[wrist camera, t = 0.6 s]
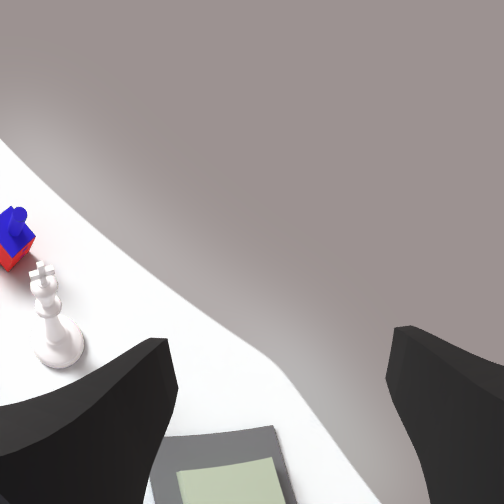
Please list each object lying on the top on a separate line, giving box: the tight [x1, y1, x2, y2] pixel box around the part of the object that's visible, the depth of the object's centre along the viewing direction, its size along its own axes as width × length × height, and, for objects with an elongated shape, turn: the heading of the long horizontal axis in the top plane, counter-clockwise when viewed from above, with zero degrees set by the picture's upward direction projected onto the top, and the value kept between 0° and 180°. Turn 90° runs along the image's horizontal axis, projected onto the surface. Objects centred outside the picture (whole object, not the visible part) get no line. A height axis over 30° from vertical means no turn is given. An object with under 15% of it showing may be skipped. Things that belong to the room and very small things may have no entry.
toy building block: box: [0, 206, 36, 272], centre depth 22 cm, size 4×4×8 cm
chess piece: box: [29, 261, 84, 368], centre depth 18 cm, size 5×5×10 cm
